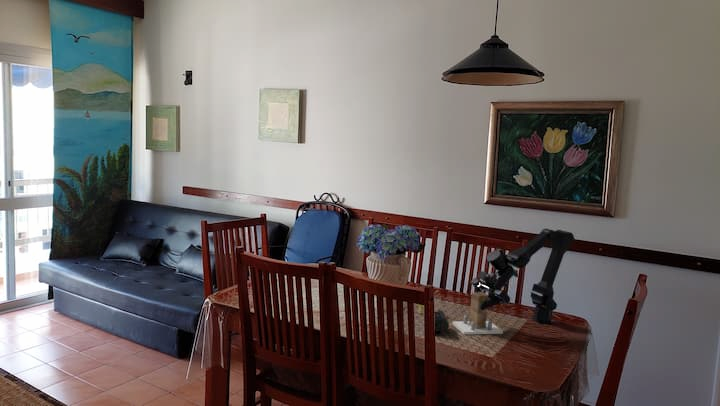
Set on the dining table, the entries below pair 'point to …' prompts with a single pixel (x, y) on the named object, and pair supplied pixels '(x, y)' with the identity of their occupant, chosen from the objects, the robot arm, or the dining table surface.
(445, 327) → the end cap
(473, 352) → the dining table surface
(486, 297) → the walnut post
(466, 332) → the plate
